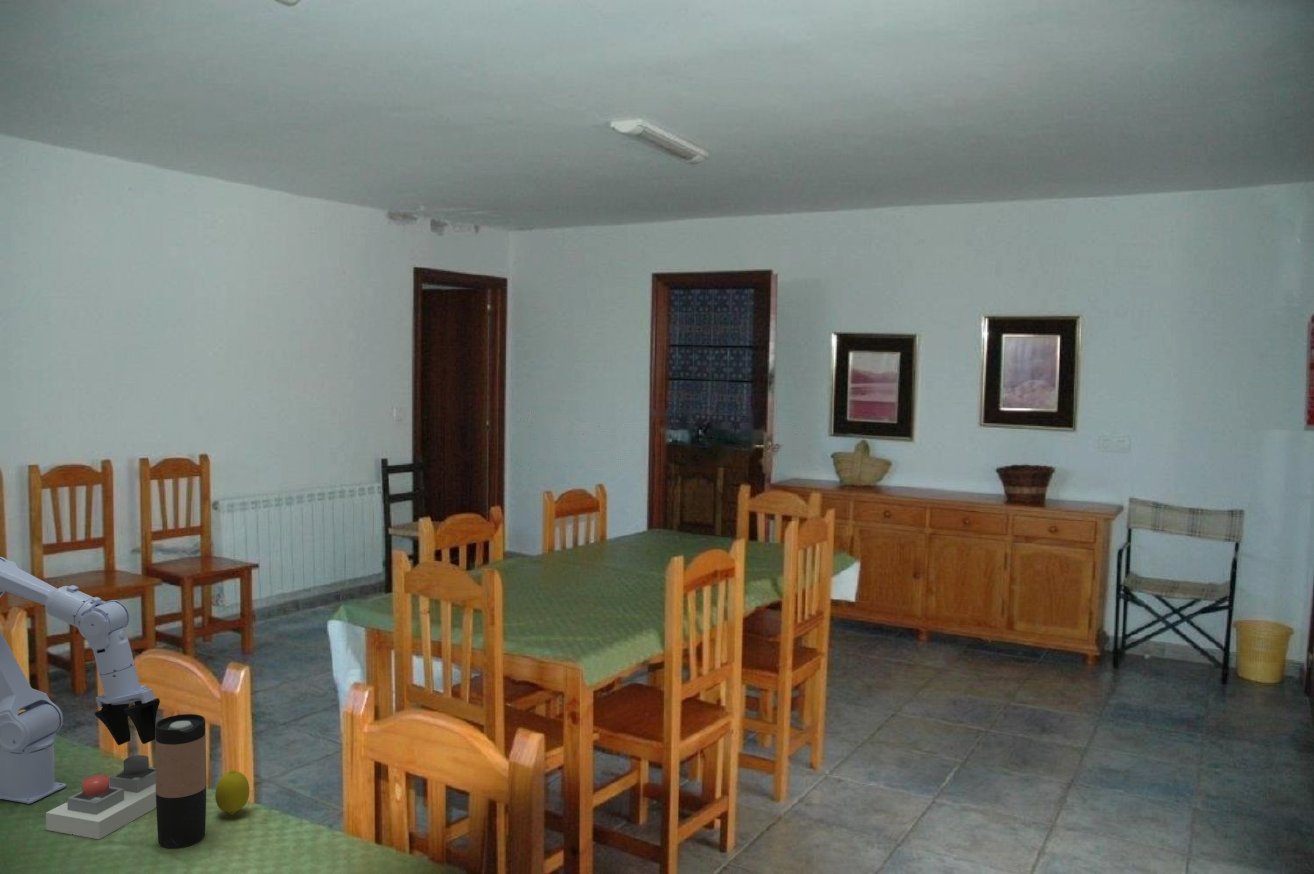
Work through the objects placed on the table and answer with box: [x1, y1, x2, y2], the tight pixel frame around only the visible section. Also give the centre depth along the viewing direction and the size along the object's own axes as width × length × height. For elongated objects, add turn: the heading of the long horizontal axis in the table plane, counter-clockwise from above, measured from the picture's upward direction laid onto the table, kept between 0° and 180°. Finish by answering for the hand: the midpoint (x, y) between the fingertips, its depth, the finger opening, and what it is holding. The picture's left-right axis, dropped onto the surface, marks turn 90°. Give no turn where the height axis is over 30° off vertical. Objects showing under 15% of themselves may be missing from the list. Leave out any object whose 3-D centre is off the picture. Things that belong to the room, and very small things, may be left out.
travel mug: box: [155, 713, 208, 849], centre depth 165 cm, size 8×8×20 cm
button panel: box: [45, 766, 156, 840], centre depth 175 cm, size 11×19×5 cm, turn 165°
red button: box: [81, 774, 110, 796], centre depth 171 cm, size 4×4×2 cm
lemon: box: [214, 769, 250, 815], centre depth 175 cm, size 6×6×8 cm
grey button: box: [123, 754, 150, 775], centre depth 179 cm, size 4×4×2 cm
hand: (136, 742), depth 178 cm, fingers open, 7 cm apart
